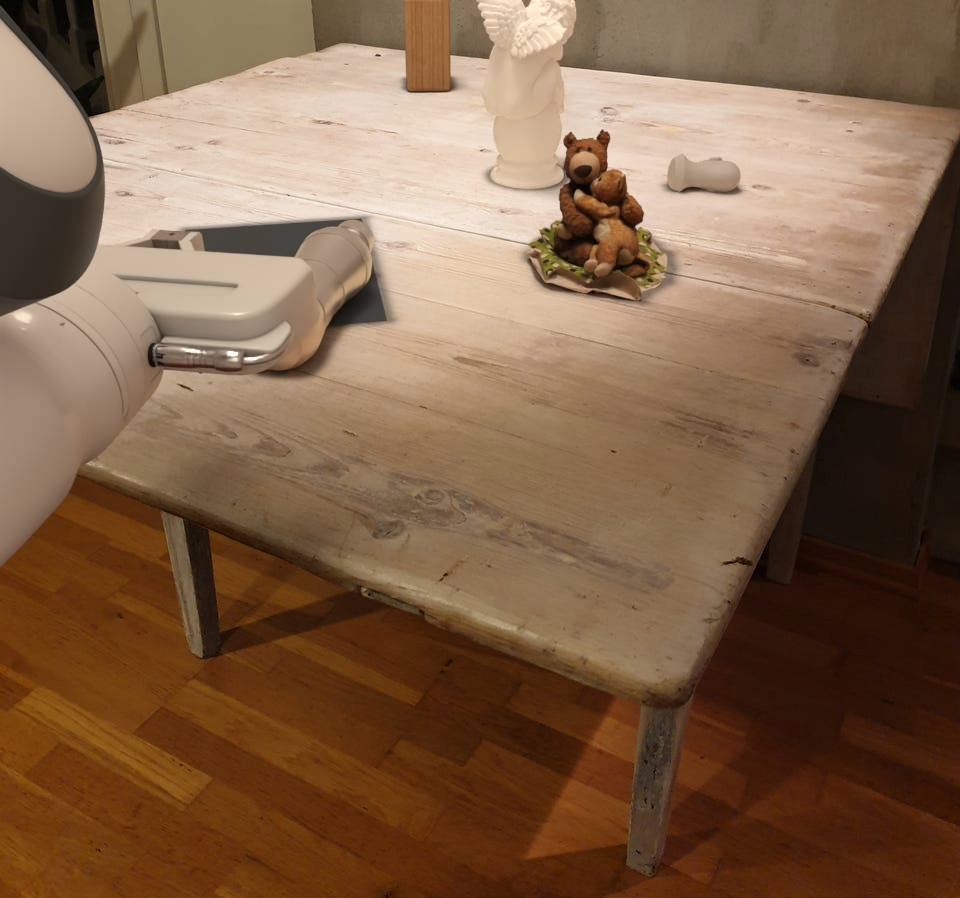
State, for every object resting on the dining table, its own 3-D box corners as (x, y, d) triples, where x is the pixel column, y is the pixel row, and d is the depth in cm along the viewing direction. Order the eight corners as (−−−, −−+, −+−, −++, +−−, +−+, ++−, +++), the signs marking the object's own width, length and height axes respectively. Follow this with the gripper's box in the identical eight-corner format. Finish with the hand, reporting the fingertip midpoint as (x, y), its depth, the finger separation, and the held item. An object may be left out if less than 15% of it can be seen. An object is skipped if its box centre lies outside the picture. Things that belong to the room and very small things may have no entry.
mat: (169, 344, 80) (168, 338, 79) (186, 234, 99) (185, 229, 99) (387, 325, 82) (387, 320, 82) (362, 222, 102) (361, 218, 102)
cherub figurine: (553, 163, 118) (562, -37, 106) (601, 196, 109) (618, -19, 96) (460, 175, 114) (459, -30, 102) (502, 211, 105) (506, -11, 92)
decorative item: (449, 81, 151) (447, -63, 140) (450, 92, 145) (449, -57, 134) (406, 81, 150) (401, -63, 139) (406, 92, 145) (401, -57, 134)
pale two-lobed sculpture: (733, 196, 112) (740, 198, 107) (663, 191, 113) (667, 193, 108) (738, 157, 111) (745, 157, 106) (668, 153, 112) (671, 152, 107)
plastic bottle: (235, 379, 76) (327, 269, 91) (315, 383, 74) (395, 270, 90) (214, 305, 72) (314, 204, 88) (298, 307, 70) (384, 203, 86)
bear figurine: (514, 297, 87) (518, 162, 80) (537, 234, 99) (541, 113, 92) (668, 310, 85) (685, 173, 78) (671, 244, 97) (686, 121, 90)
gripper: (262, 308, 43) (345, 201, 55) (-151, 277, 46) (10, 181, 57) (278, 426, 47) (353, 302, 58) (-106, 392, 49) (37, 280, 61)
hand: (180, 242), depth 58 cm, fingers closed
